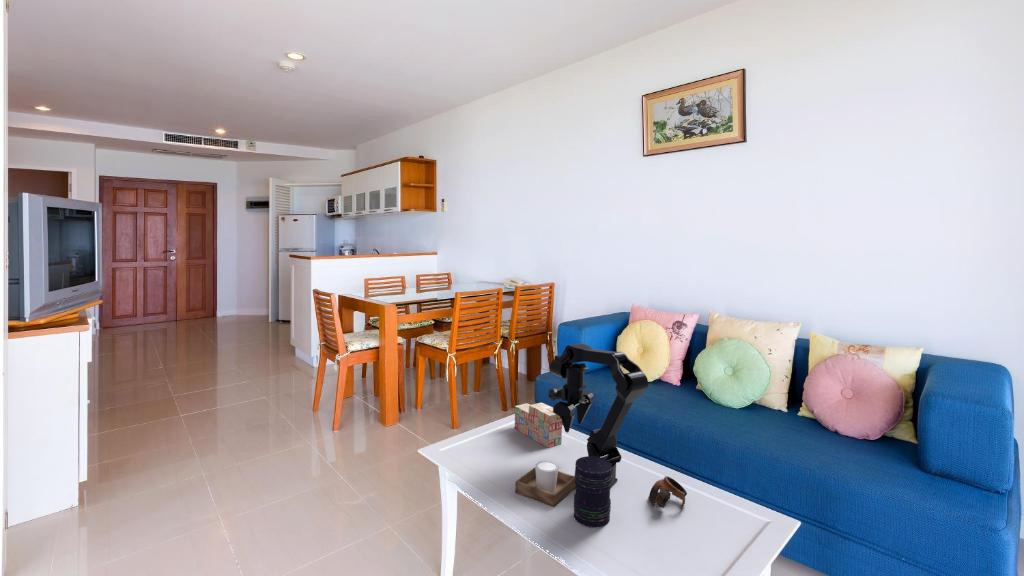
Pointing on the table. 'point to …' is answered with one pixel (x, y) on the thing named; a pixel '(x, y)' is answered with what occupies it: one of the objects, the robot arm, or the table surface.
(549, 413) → the stack of blocks
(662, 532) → the table surface
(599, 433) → the robot arm
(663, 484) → the brown hollow curved piece
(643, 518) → the table surface
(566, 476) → the walnut crate
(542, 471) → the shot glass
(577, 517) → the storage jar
